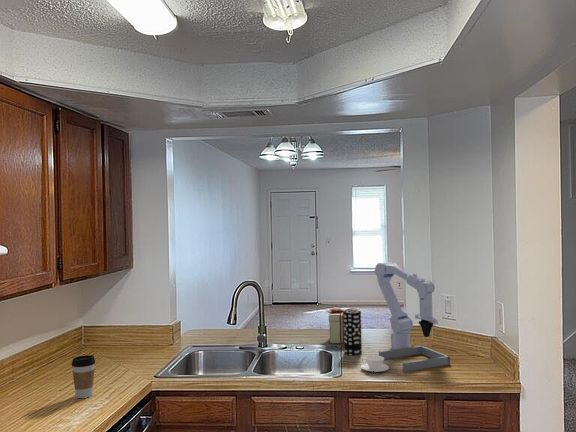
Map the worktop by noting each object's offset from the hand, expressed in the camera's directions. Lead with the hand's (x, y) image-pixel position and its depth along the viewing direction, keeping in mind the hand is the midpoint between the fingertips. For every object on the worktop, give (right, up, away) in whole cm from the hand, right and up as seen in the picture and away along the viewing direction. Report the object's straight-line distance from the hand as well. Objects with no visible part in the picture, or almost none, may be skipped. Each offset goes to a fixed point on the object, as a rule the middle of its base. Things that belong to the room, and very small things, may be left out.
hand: (426, 336), depth 230 cm
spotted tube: (-33, -10, +9) cm, 36 cm away
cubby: (-8, -10, -8) cm, 15 cm away
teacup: (-27, -10, -18) cm, 34 cm away
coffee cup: (-142, -13, -42) cm, 149 cm away
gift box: (-35, -11, +35) cm, 51 cm away
